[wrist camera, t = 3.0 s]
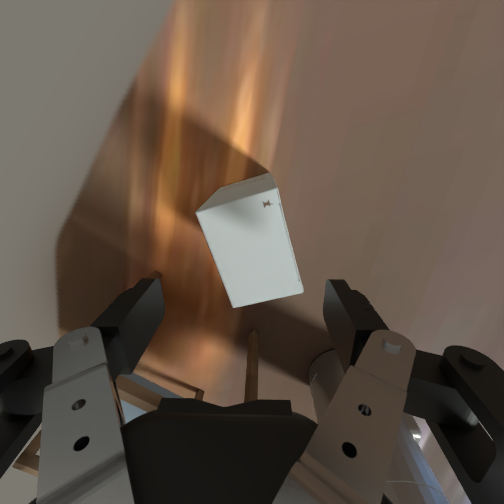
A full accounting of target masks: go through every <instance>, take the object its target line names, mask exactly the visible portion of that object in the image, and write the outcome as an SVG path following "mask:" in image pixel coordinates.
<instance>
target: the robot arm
mask: <svg viewBox="0 0 504 504" xmlns="http://www.w3.org/2000/svg"><path fill="white" fill-rule="evenodd" d="M164 313H165V304H164V298H163V293H162V287H161V282H160V280H159V279H158V278H142V279H141V280H140V281H139V282H138V283H137V284H136V285H135V286H134V287H133V288H130V289H128V290H127V291H125V292H123V293H122V294H120V295H119V296H118V297H117V298H116V299H115V300H114V303H111V304H110V306H109V307H108V308H107V309H106V310H105V311H104V312H103V313H102V314H101V315H100V316H99V317H98V318H97V319H96V320H95V321H94V322H93V323H92V324H91V325H90V327H83V328H79V329H76V330H73V331H71V332H69V333H67V334H65V335H64V336H62V337H61V338H60V339H59V340H58V341H57V342H56V343H55V345H54V346H51V347H46V348H41V349H36V350H31V347H30V345H29V343H28V342H27V341H26V340H12V341H8V342H4V343H2V344H0V478H1V477H2V476H3V474H4V473H5V471H6V470H7V469H8V468H9V466H10V465H11V464H12V462H13V461H14V459H15V458H16V457H17V455H18V454H19V453H20V451H21V450H22V448H23V447H24V446H25V444H26V443H27V441H28V440H29V439H30V438H31V436H32V435H33V434H34V432H35V431H36V430H37V428H38V427H39V425H40V424H41V423H42V428H41V442H40V457H39V472H38V487H37V497H36V498H35V499H34V500H33V501H31V502H30V503H29V504H450V503H449V501H448V500H447V498H446V496H445V494H444V492H443V490H442V488H441V487H440V485H439V483H438V481H437V479H436V477H435V475H434V473H433V471H432V470H431V468H430V466H429V464H428V462H427V460H426V458H425V456H424V454H423V453H422V451H421V449H420V447H419V445H418V443H419V441H420V438H421V431H420V428H419V427H418V425H417V423H416V421H415V420H414V418H413V416H416V417H420V418H423V419H425V420H426V422H427V424H428V426H429V427H430V429H431V431H432V433H433V435H434V436H435V438H436V440H437V442H438V444H439V446H440V447H441V449H442V451H443V453H444V455H445V456H446V458H447V460H448V462H449V464H450V465H451V467H452V469H453V471H454V473H455V474H456V476H457V478H458V480H459V482H460V483H461V485H462V487H463V489H464V491H465V492H466V494H467V496H468V498H469V500H470V501H471V503H472V504H504V371H503V370H502V369H501V368H500V367H499V366H498V365H497V364H496V363H495V362H494V361H493V360H491V359H490V358H489V357H487V356H486V355H484V354H482V353H480V352H478V351H476V350H473V349H471V348H468V347H464V346H457V345H453V346H449V347H447V348H446V349H445V350H444V353H443V356H441V355H437V354H433V353H428V352H424V351H420V350H417V349H415V346H414V345H413V343H412V342H411V341H410V340H409V339H407V338H406V337H404V336H403V335H401V334H399V333H396V332H393V331H390V330H389V328H388V327H387V326H386V324H385V323H384V322H383V320H382V319H381V317H380V316H379V315H378V313H377V312H376V311H375V309H374V308H373V306H372V305H370V302H369V301H368V299H367V298H366V297H365V296H364V295H363V294H361V293H360V292H358V291H357V290H351V289H350V287H349V286H348V284H347V283H346V281H345V280H335V279H328V280H327V282H326V288H325V296H324V304H323V316H324V321H325V323H326V326H327V329H328V331H329V334H330V337H331V339H332V342H333V344H334V347H335V349H334V350H330V351H328V352H326V353H324V354H322V355H320V356H319V357H318V358H316V360H315V361H314V362H313V363H312V365H311V366H310V369H309V373H308V374H309V382H310V389H311V394H312V397H313V402H314V407H315V412H316V417H317V422H318V424H317V423H315V422H314V421H313V420H311V419H309V418H307V417H305V416H303V415H301V414H298V413H295V412H292V409H291V401H290V400H254V401H250V402H246V403H241V404H237V405H233V406H229V407H221V406H218V405H214V404H211V403H207V402H204V401H200V400H197V399H193V398H161V401H160V403H159V406H158V408H157V410H153V411H150V412H147V413H145V414H143V415H140V416H138V417H136V418H134V419H133V420H131V421H129V422H128V423H126V421H125V417H124V413H123V409H122V404H121V400H120V396H119V392H118V388H117V384H116V381H115V380H116V379H117V377H118V375H131V374H132V372H133V370H134V369H135V367H136V365H137V363H138V362H139V360H140V358H141V356H142V355H143V353H144V351H145V349H146V348H147V346H148V344H149V342H150V340H151V339H152V337H153V335H154V333H155V332H156V330H157V328H158V326H159V325H160V323H161V321H162V319H163V317H164ZM412 415H413V416H412ZM479 421H480V422H481V424H482V425H483V426H484V428H485V429H486V430H487V432H488V433H489V434H490V436H491V438H492V439H493V441H492V439H491V438H490V437H489V435H488V434H487V433H486V431H485V430H484V429H483V427H482V426H481V425H480V423H479Z"/></svg>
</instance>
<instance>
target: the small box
mask: <svg viewBox="0 0 504 504" xmlns="http://www.w3.org/2000/svg"><path fill="white" fill-rule="evenodd" d="M195 214H196V216H197V219H198V222H199V224H200V227H201V229H202V232H203V234H204V237H205V239H206V242H207V244H208V247H209V249H210V252H211V254H212V257H213V259H214V262H215V264H216V267H217V270H218V272H219V275H220V277H221V280H222V282H223V285H224V287H225V290H226V292H227V295H228V297H229V300H230V302H231V305H232V308H236V307H241V306H246V305H250V304H255V303H259V302H264V301H268V300H273V299H277V298H281V297H286V296H291V295H295V294H300V293H303V292H304V289H303V285H302V282H301V278H300V275H299V271H298V268H297V264H296V260H295V256H294V252H293V248H292V245H291V241H290V237H289V233H288V229H287V225H286V221H285V217H284V213H283V209H282V205H281V200H280V195H279V190H278V187H277V185H276V183H275V180H274V178H273V176H272V174H271V173H270V172H269V173H266V174H263V175H259V176H256V177H253V178H249V179H246V180H243V181H240V182H236V183H233V184H230V185H226V186H223V187H220V188H219V189H218V190H217V191H216V192H215V193H214V194H213V195H212V196H211V197H210V198H209V199H208V200H207V201H206V202H205V203H204V204H203V205H202V206H201V207H200V208H199V209H198V210H197V211H196V212H195Z"/></svg>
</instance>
